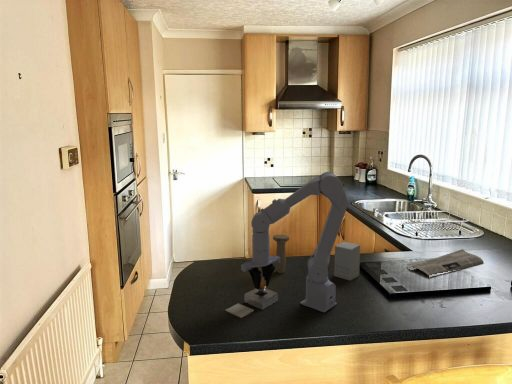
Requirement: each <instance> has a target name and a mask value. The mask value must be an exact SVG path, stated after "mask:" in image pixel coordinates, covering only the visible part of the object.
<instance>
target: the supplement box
mask: <svg viewBox="0 0 512 384" xmlns="http://www.w3.org/2000/svg"><path fill="white" fill-rule="evenodd" d="M360 257H361V245H360V244H357V243H352V242H347V241H342V242H341V243H338V244H336V245H335V246H334V277H337V278H340V279H342V280H347V281H352V280H354V279H356V278H357V277H359V276H360V261H361V259H360Z"/></svg>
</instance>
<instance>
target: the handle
mask: <svg viewBox="0 0 512 384" xmlns="http://www.w3.org/2000/svg"><path fill="white" fill-rule="evenodd" d="M272 239H273V240H274V241H275V242H276V251H275V252H276V255H275V256H278V257H280V263H275V265H276V266H275V268H276V272H277V273H278V274H284V273H285V271H286V265H287V264H286V263H287V260H286V259H287V257H286V242H288V241H289V240H290V236H289V235H285V234H274V235H273V236H272Z"/></svg>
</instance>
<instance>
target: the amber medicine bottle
mask: <svg viewBox="0 0 512 384" xmlns="http://www.w3.org/2000/svg"><path fill="white" fill-rule="evenodd" d="M265 288H266V289H267V287H266V279H265V275H264V274H262V273H261V276H260V288H259V289H258V295H259V296H264V295H265Z"/></svg>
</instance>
